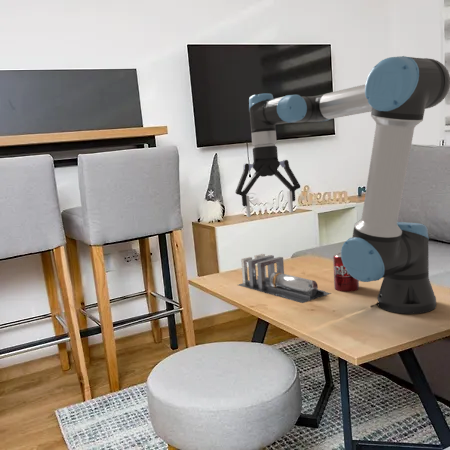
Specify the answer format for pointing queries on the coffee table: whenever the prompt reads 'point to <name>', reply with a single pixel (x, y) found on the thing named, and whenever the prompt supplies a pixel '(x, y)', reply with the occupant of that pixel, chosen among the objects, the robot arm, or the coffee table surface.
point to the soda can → (343, 276)
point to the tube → (293, 284)
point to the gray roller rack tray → (263, 281)
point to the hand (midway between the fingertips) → (269, 214)
